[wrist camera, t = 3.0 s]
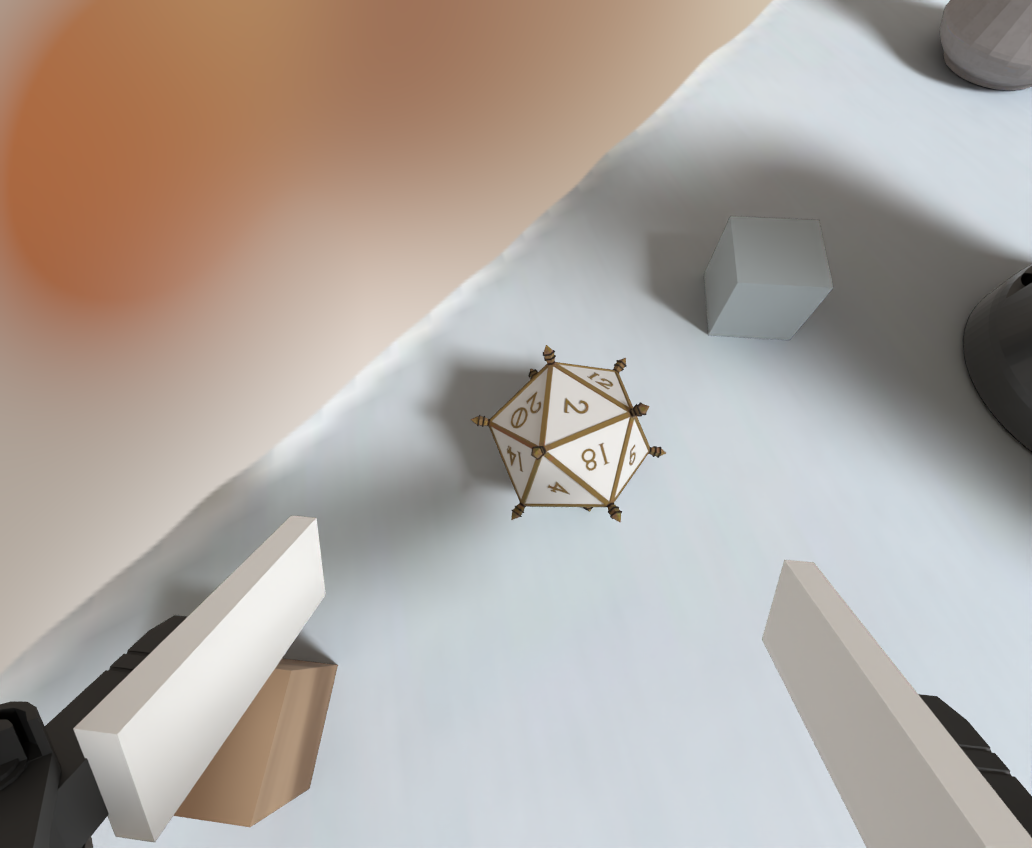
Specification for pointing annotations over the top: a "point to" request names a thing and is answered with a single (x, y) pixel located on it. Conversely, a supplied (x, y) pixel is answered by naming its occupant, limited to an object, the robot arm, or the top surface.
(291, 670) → the walnut block
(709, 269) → the light grey cube
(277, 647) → the robot arm
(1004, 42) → the coffee pot
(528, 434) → the game die
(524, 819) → the top surface
